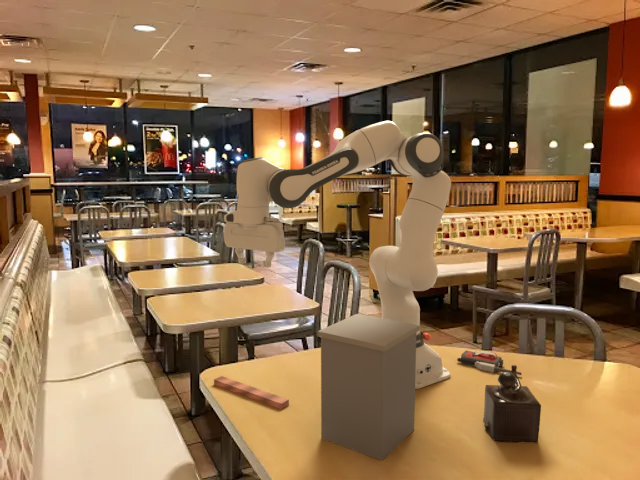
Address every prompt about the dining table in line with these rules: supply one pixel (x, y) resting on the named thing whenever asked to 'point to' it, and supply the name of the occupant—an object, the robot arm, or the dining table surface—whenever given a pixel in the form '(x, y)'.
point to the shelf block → (368, 383)
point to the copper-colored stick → (252, 392)
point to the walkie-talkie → (483, 361)
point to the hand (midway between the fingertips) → (254, 265)
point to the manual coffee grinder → (511, 410)
